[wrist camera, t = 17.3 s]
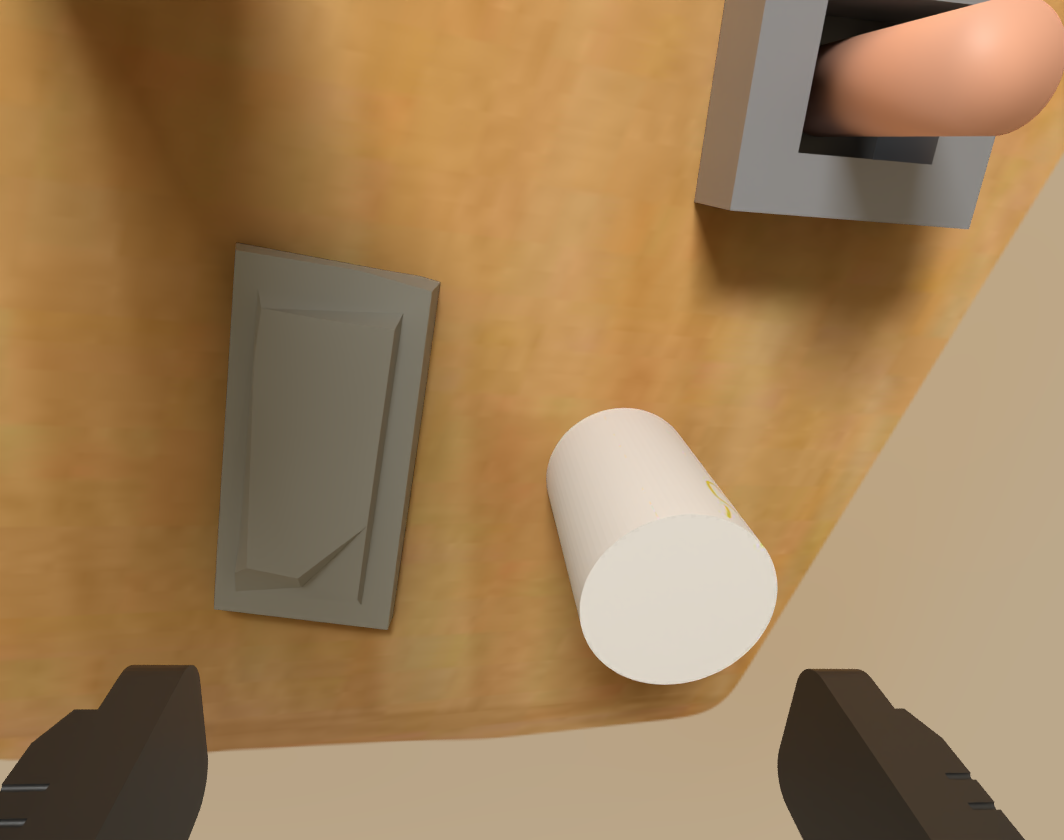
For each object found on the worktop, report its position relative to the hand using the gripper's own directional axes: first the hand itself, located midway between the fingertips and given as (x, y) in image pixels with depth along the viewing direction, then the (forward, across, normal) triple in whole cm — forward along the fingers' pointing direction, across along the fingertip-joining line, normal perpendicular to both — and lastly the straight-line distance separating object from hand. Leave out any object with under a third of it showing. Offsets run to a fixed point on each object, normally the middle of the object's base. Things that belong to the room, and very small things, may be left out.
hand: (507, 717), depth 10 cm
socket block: (+28, -16, -11) cm, 34 cm away
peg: (+28, -16, -11) cm, 34 cm away
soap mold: (+29, +8, +8) cm, 31 cm away
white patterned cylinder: (+28, -9, +9) cm, 31 cm away
